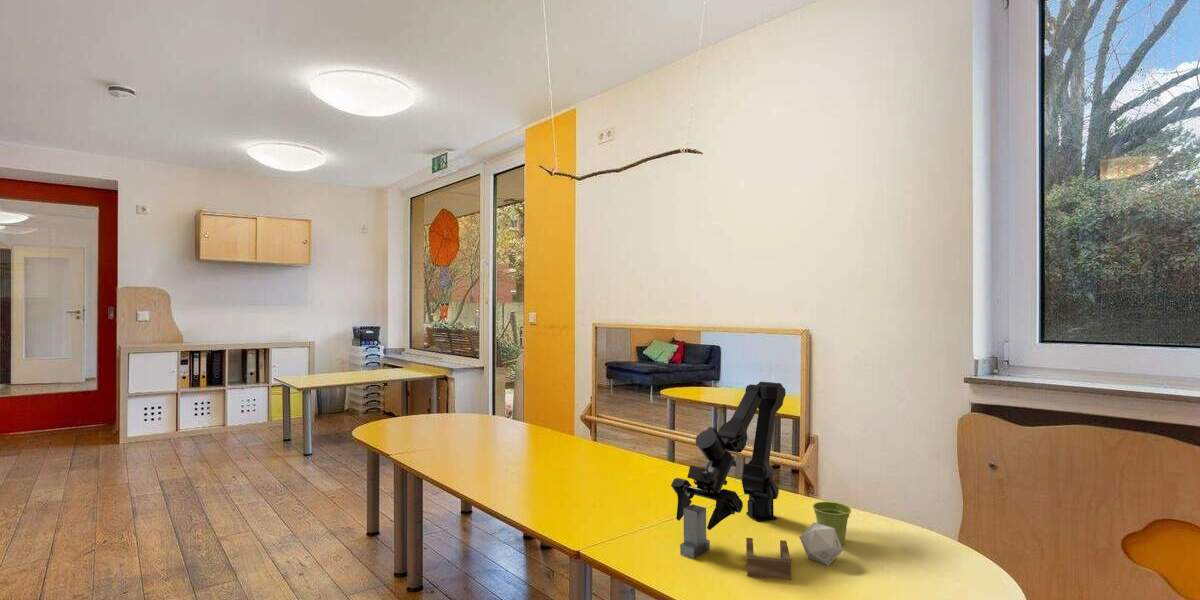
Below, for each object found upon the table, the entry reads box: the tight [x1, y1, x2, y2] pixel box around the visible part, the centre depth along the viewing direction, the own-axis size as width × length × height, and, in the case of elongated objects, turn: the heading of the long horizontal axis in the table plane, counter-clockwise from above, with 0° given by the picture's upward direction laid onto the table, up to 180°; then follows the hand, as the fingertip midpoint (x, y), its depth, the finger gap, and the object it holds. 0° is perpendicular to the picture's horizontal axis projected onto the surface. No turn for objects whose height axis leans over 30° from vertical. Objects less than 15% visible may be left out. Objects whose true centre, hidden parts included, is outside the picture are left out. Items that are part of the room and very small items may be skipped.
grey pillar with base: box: [679, 503, 711, 560], centre depth 146 cm, size 7×4×11 cm, turn 136°
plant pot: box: [812, 501, 852, 545], centre depth 152 cm, size 9×9×9 cm
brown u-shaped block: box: [745, 537, 792, 581], centre depth 138 cm, size 12×10×4 cm
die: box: [799, 522, 844, 566], centre depth 141 cm, size 8×9×10 cm
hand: (692, 524), depth 145 cm, fingers open, 9 cm apart
